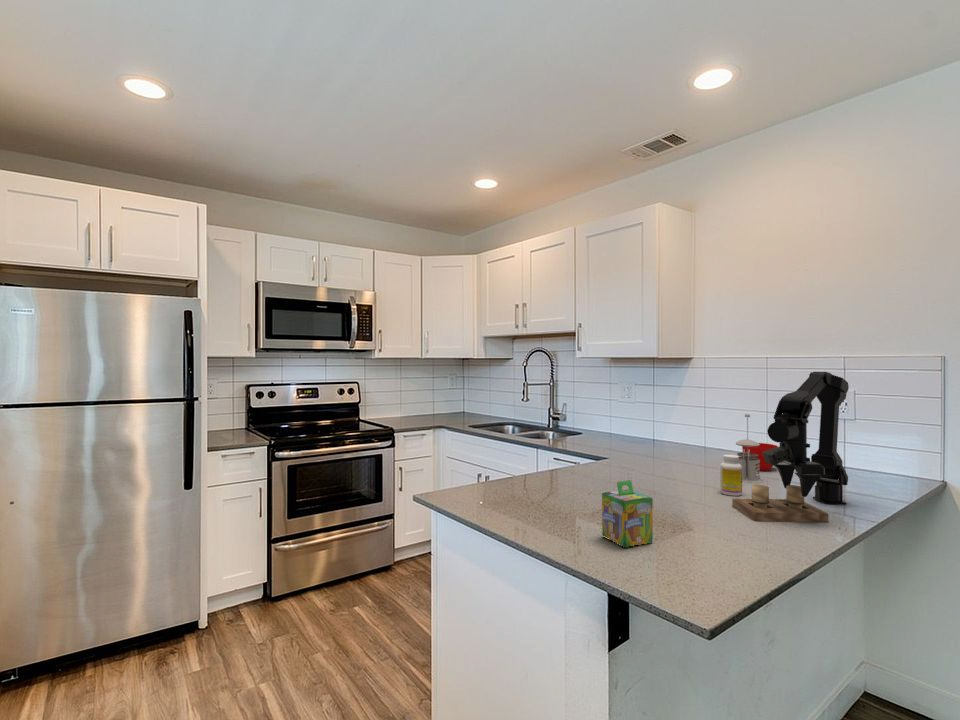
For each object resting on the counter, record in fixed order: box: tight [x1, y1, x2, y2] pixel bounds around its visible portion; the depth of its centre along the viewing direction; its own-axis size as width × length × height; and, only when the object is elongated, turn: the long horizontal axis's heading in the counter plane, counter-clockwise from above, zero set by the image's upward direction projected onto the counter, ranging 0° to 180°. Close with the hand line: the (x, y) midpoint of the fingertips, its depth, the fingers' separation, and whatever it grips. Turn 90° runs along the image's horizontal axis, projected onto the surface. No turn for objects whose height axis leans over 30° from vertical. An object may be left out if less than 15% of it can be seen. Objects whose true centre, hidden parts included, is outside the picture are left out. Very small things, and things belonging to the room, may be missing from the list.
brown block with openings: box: [731, 484, 830, 523], centre depth 146 cm, size 20×14×8 cm
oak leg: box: [785, 484, 805, 509], centre depth 146 cm, size 4×4×8 cm
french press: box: [735, 413, 763, 484], centre depth 187 cm, size 10×12×25 cm
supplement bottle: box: [719, 454, 743, 497], centre depth 169 cm, size 7×7×13 cm
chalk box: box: [601, 479, 654, 548], centre depth 126 cm, size 9×9×15 cm
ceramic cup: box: [741, 442, 779, 472], centre depth 206 cm, size 13×17×10 cm
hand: (795, 492), depth 146 cm, fingers open, 9 cm apart
